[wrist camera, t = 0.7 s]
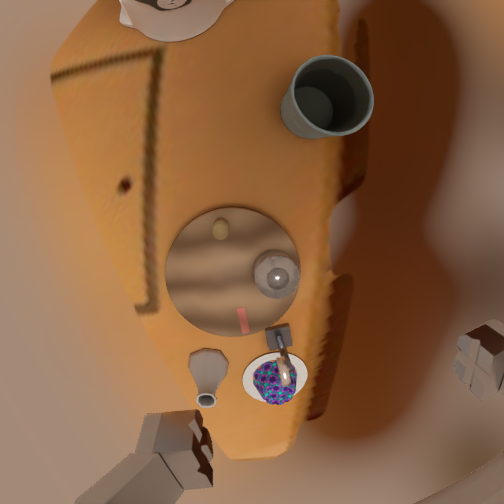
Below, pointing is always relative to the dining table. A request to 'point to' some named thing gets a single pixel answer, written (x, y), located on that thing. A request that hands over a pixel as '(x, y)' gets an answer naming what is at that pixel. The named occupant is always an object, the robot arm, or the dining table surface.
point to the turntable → (226, 271)
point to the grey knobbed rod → (281, 349)
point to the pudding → (273, 379)
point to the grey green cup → (327, 98)
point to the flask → (207, 374)
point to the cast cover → (275, 274)
